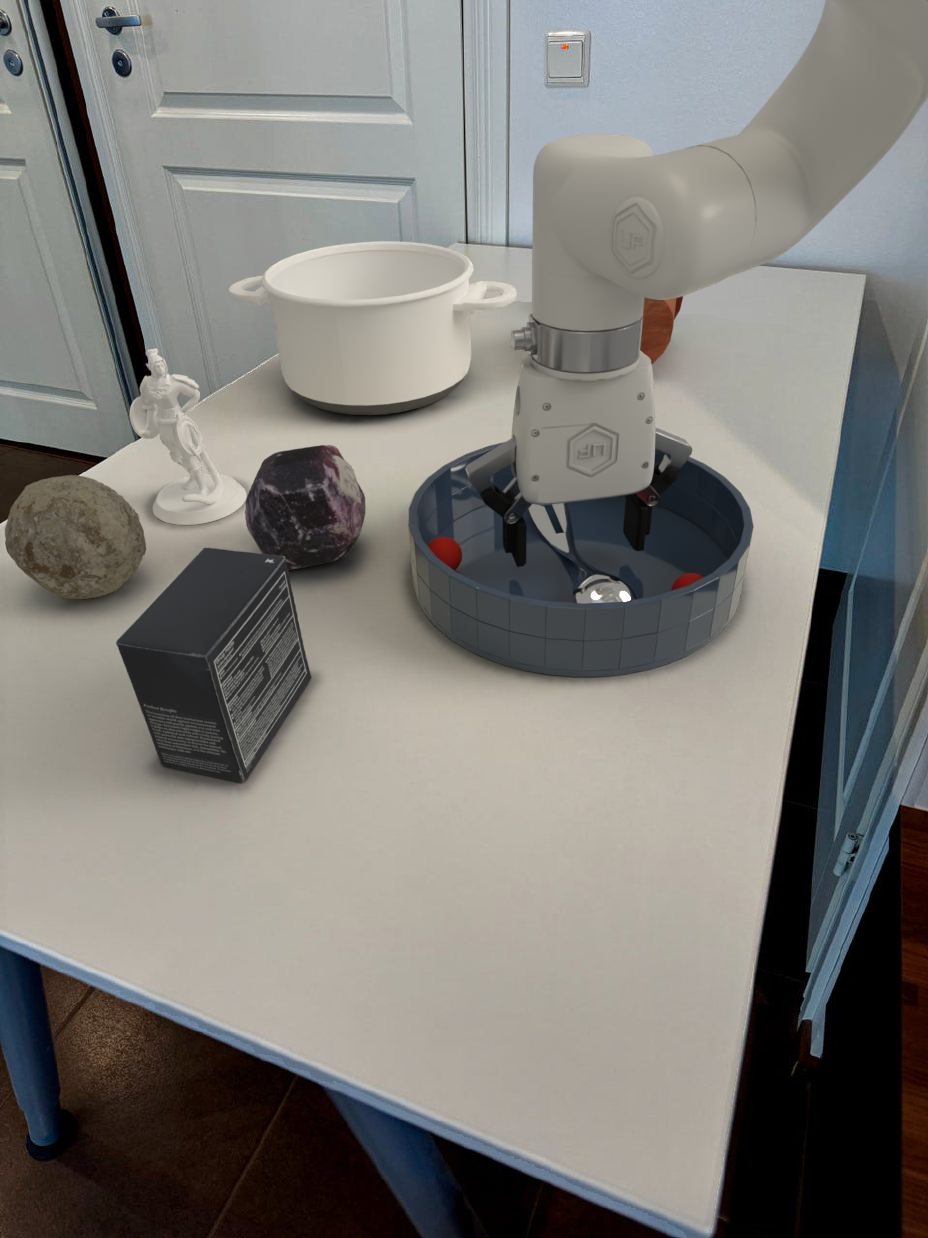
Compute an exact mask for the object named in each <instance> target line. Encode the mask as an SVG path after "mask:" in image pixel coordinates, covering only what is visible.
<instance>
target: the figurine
mask: <svg viewBox="0 0 928 1238" xmlns="http://www.w3.org/2000/svg"><path fill="white" fill-rule="evenodd" d="M158 353H159V350H158V348H157V347H156V348H155V347H154V348H150V349H147V350H146V351H145V356H146V357H147V358H148V362H147V363H145V366H146V367H147V369H148V370H149V371H150V372H151V375H144V377H143V379H142V381H141V383H140V384H139V385H140V386H139V392H140V396H137V397H135V399H134V400H133V401H132V402H131V403H130V404H131V405H130V408H129V421H130V424H131V427H132V429H133V431H134V432H135V433H136V435H137V436H138V437H139V438H142V439H144V440H153V439H155V438H157V436H158V435H159V440H160V442H161V443H162V445H163V446H165V447H166V448H167V449H168V451H169V456H170V459H171V460H172V461H173V462H174V463H175V464H177V465H178V466H180V467H182V468H183V469H185V471H186V472H187V473H188V475H187V476H184V477H181V478H178V479H175V480H173V481H171V482H170V483H167V484H166V485H165V486H164V487H162V488H161V489H160V490H159V492H158V493H157V495H156V497H155V500H154V502H153V504H152V513H153V515H154V516H155V517H156V518H157V519H158V520H160V521H162V522H165V523H167V524H172V525H176V526H177V525H178V526H194V525H203V524H207V523H210V522H215V521H218V520H221V519H224V518H226V517H228V516H230V515H233V513H235V512H236V511H238V510H239V509H240V508H241V507H242V506H243V505H244V503H246V499H247V496H248V493H247V491H246V489H245V487H244V486H242V484H240V483H239V482H238V481H236V480H235V478H233V477H231V476H230V475H226V474H221V473H219V472H218V469H217V468H216V466H215V465H214V462H213V461H212V460H211V457H210V456H209V454H208V452H207V451H206V449H205V447H204V437H203V435H202V432H201V430H200V428H199V427H198V425H197V424H196V422H195V421H193V420H192V419H191V418H190V416H189V415H188V414H190V413H191V412H193V411H194V410H195V409H196V405H197V404H198V403H199V401H200V398H201V393H200V391H199V390H198V389H200V385H199V384H198V383H197V382H196V381H195V380H194V379H191V378H189V377H188V376H187V375H183V374H177V373H173V374H170V373H169V371H168V365H167V362H166V359H165V358H163V357H162V356H161V355H159V354H158ZM181 394H182V396H183V395H184V396H185V397H188V398H190V399H188V401H187V402H186V403H185V404H184V405H183V406H181V405H180V402H179V395H181ZM194 448H195V449H194ZM196 459H197V460H198V461H199V462H201V463H203V465H204V466H205V468H206V470H207V472H208V473H203V469H202V468H203V465H202V464H201V463H199V462H197V461H196Z"/></svg>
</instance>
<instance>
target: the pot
mask: <svg viewBox="0 0 928 1238" xmlns="http://www.w3.org/2000/svg"><path fill="white" fill-rule="evenodd" d="M474 270H475V268H474V264H473V262H472V260H471V259H470V258H468V256H467V255H464V254H463V253H461V252H459V251H456V250H454V249H453V248H452V249H451V248H448V247H445V246H441V245H436V244H431V243H423V242H414V241H399V240H398V241H397V240H396V241H395V240H391V241H389V240H388V241H387V240H385V241H382V240H381V241H379V240H378V241H377V240H376V241H361V242H351V243H341V244H336V245H328V246H324V247H319V248H314V249H311V250H306V251H303V252H300V253H296V254H293V255H290V256H287V257H286V258H283V259H281V260H279V261H277V262H276V263H275V264H274V263H273V265H271V266H269V267H268V268H266V270H265V271H264V272H263V274H262V275H255V276H250V277H246V278H243V279H241V280H239V281H236V282H234V283H232V284H231V285H230V286H229V288H228V295H229V296H230V298H231V299H234V300H236V301H240V302H247V303H250V304H251V305H252V306H253V307H263V306H264V305H270V311H271V315H272V316H271V318H272V323H273V329H274V336H275V340H276V341H275V342H276V347H277V353H278V360H279V366H280V370H281V373H282V377H283V379H284V382H285V384H286V385H287V386H288V388H289V389H290V390H291V391H292V392H293V393H294V394H295V395H296V396H297V397H298V398H299V399H301V400H303V401H305V402H306V403H308V404H309V405H312V407H316V408H318V409H320V410H324V411H327V412H331V413H337V414H343V415H344V414H345V415H354V416H380V415H381V416H382V415H391V414H399V413H402V412H407V411H411V410H416V409H420V408H422V407H425V406H429V405H432V404H433V403H435V402H438V401H439V400H442V399H444V398H445V397H446V396H448V395H449V394H450V393H452V392H453V391H454V390H455V389H456V388H457V387H459V385H460V384H461V383H462V381H463V380H464V379H465V377H466V375H467V374H468V373H469V369H470V366H471V359H472V337H471V335H472V333H471V315H473V314H474V313H475V311H485V310H486V311H487V310H495V309H501V308H504V307H507V306H510V304H512V303H514V302H515V301H517V299H518V290H517V289H516V287H515V286H513V285H511V284H509V283H506V282H499V281H490V280H489V281H487V280H477V282H473V283H472V282H470V278H471V276H472V275H473V273H474ZM255 287H258V288H257V289H256V290H254V291H251V290H248V289H251V288H255ZM487 293H495V294H498V296H495V297H489V298H484V297H485V295H486V294H487Z"/></svg>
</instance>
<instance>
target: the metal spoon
mask: <svg viewBox="0 0 928 1238" xmlns="http://www.w3.org/2000/svg"><path fill="white" fill-rule="evenodd" d="M552 508H553V510H554V513H555V515H556V517H557V520H558V522H559V524H560V527H561V529H562V531H563V533H557V534H556V532H555V530H554V528H553V525H552V523H551V521H550V518H549V516H548V514H547V511H546V509H545V507H544V506H541V505H536V504H532V505H531V506H530V508H529V512H530V514H531V517H532V519H533V521H534V523H535V524H536V526H537V528H538V529H539V531H540V532H541V534H542V535H543V536H544V538H545V539H546V540H547V541H548V543H549V544H550V545H551V546H552V547H553V548H554V549H555V550H557V551H558V552H559V553H560V554H562V555H563V556H564V557H566V558H567V559H569V560H570V561H572V562H573V563H574V564H575V565H576V566H577V567H578V568H579V575H578V577H577V580H576V582H575V584H574V587H573V599H574V602H575V603H584V604H585V603H604V602H624V601H629V600H635V599H637V596H636V593H635V591H634V589H633V588H632V587H631V585H629V584H628V583H627V582H626V581H625V580H623V579H621V578H619V577H617V576H615V575H613V574H610V573H607V572H604V571H602V570H599V569H597V568H595V567H593V566H591V565H590V564H588V563H587V562H585V561H584V560H583V559H582V558H581V557H580V556H579V554H578V552H577V550H576V547H575V542H574V537H573V530H572V524H571V518H570V514H569V510H568V506H567V504H566V503H561V504H552Z"/></svg>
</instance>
